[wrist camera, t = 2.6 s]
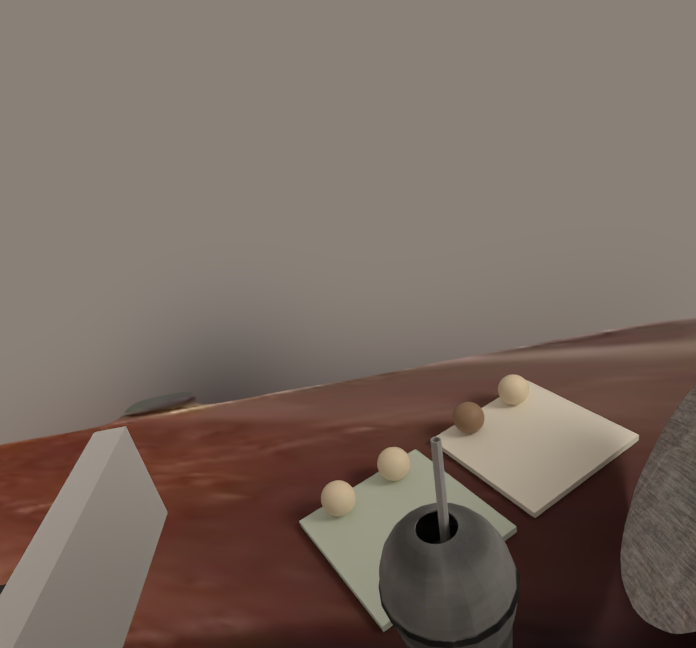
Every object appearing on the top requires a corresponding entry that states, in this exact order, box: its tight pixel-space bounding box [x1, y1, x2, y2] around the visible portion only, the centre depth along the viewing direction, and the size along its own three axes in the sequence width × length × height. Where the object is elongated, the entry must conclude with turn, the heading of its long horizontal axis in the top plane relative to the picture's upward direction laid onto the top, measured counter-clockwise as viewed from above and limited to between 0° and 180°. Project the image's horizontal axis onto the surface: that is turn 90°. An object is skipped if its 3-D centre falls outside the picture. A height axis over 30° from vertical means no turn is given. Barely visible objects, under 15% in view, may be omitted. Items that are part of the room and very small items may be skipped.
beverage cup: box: [379, 437, 520, 648], centre depth 31 cm, size 7×7×20 cm
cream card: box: [436, 375, 639, 518], centre depth 53 cm, size 13×13×4 cm
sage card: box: [299, 447, 517, 632], centre depth 48 cm, size 13×13×4 cm
